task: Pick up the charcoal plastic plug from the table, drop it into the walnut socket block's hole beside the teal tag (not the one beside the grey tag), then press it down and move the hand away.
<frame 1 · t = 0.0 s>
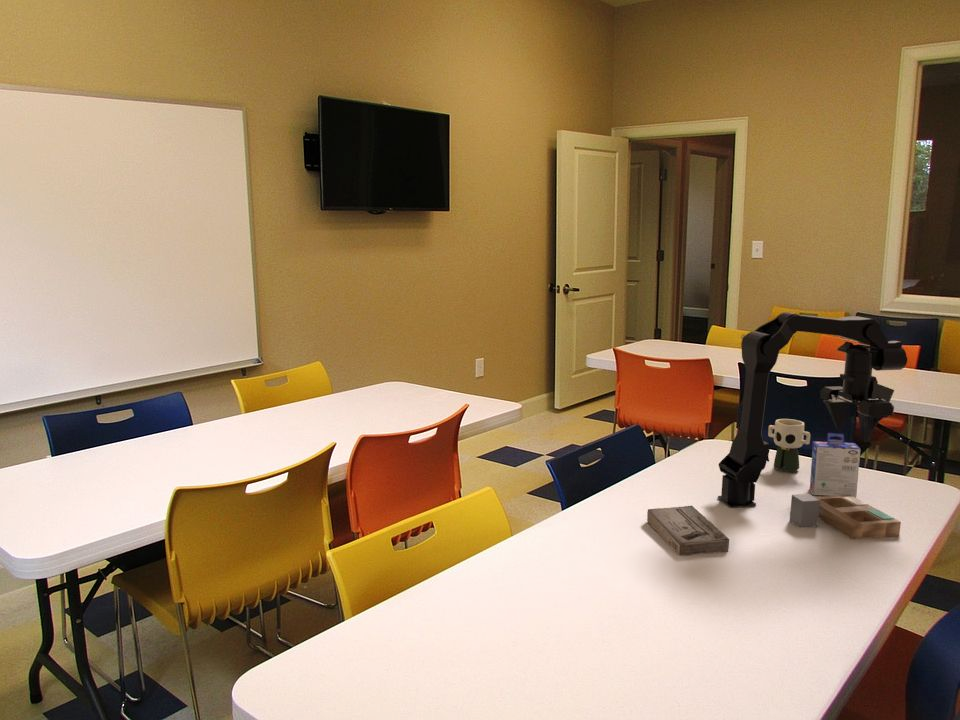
hand: (852, 436, 174), 15 cm above the table, tool pointing down, fingers open, 9 cm apart
character mug: (786, 470, 196), on the table
ink cartridge box: (832, 494, 178), on the table
plug: (803, 523, 160), on the table
box: (685, 539, 153), on the table
socket block: (848, 522, 161), on the table
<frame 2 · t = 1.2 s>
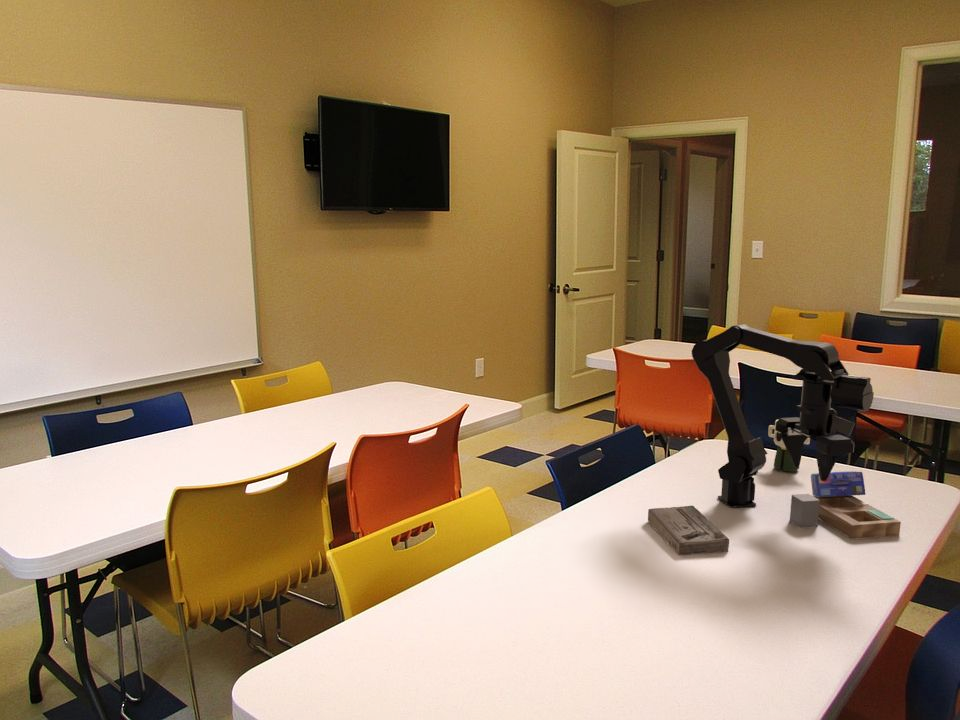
hand: (809, 473, 159), 11 cm above the table, tool pointing down, fingers open, 9 cm apart
ink cartridge box: (833, 482, 176), point 3 cm above the table, touching socket block
everything else where it was.
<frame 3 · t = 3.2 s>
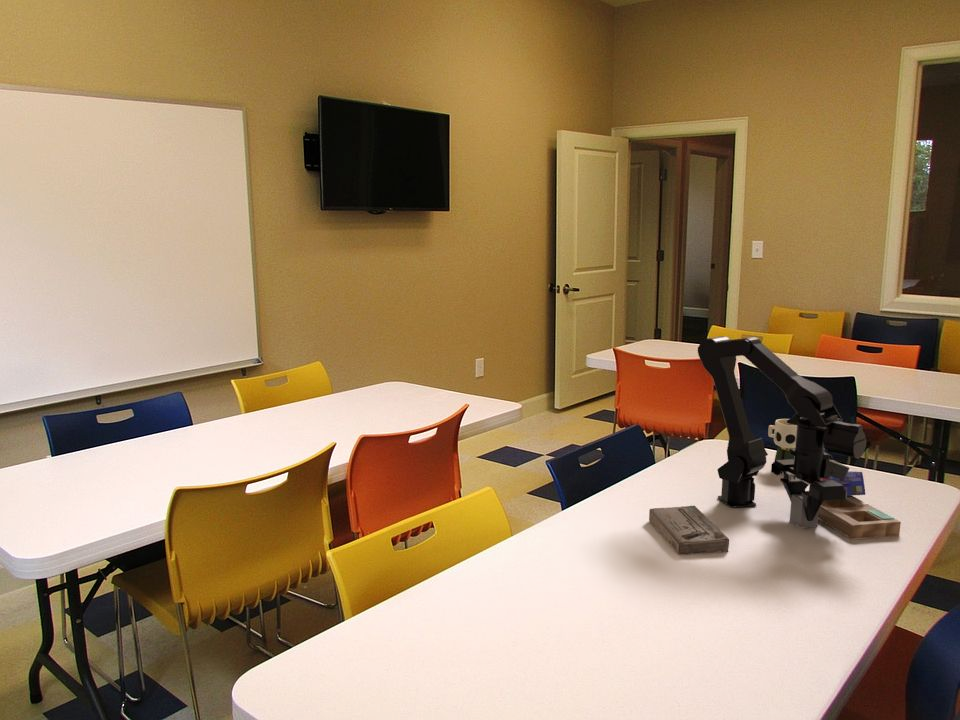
hand: (804, 516, 160), 2 cm above the table, tool pointing down, fingers closed on plug, 4 cm apart
plug: (803, 523, 160), on the table, touching gripper
everything else where it was.
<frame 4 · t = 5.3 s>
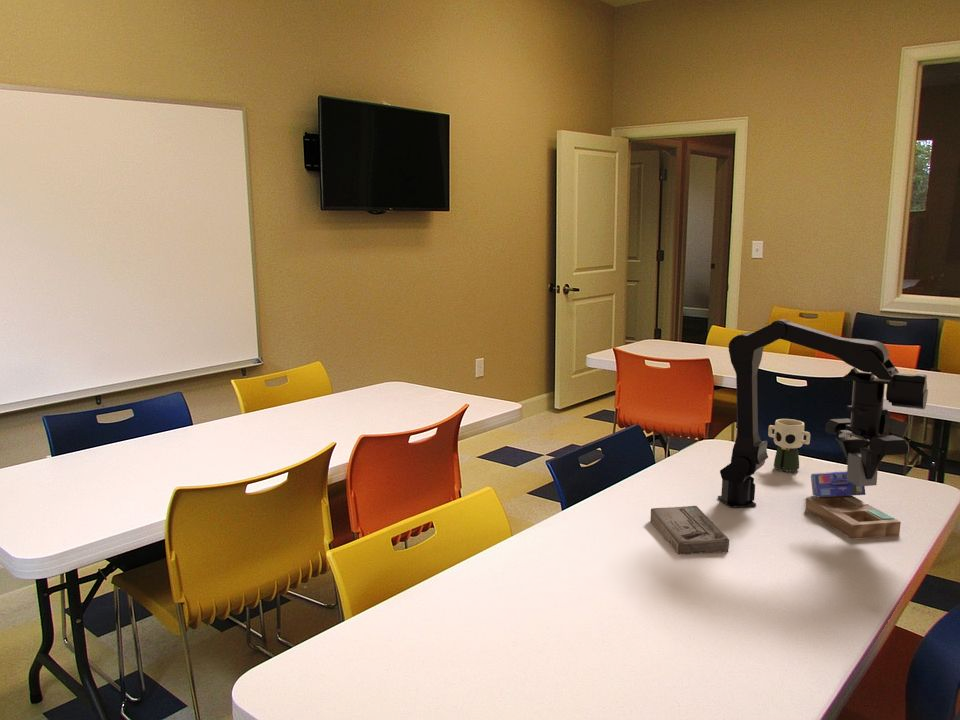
hand: (861, 475, 155), 12 cm above the table, tool pointing down, fingers closed on plug, 4 cm apart
plug: (861, 482, 155), point 10 cm above the table, touching gripper
everything else where it was.
when the fingers open (5 cm above the table, at t = 7.2 s): plug drops 4 cm, resting in socket block.
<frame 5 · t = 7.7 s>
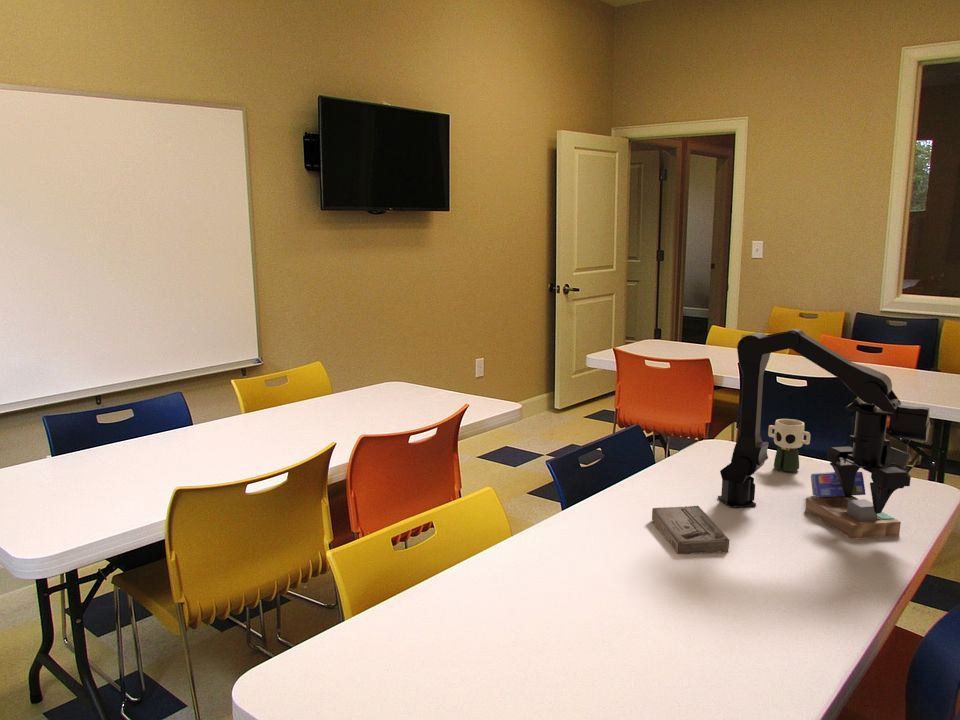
hand: (862, 505, 156), 5 cm above the table, tool pointing down, fingers open, 9 cm apart
plug: (860, 530, 157), resting in socket block
everything else where it was.
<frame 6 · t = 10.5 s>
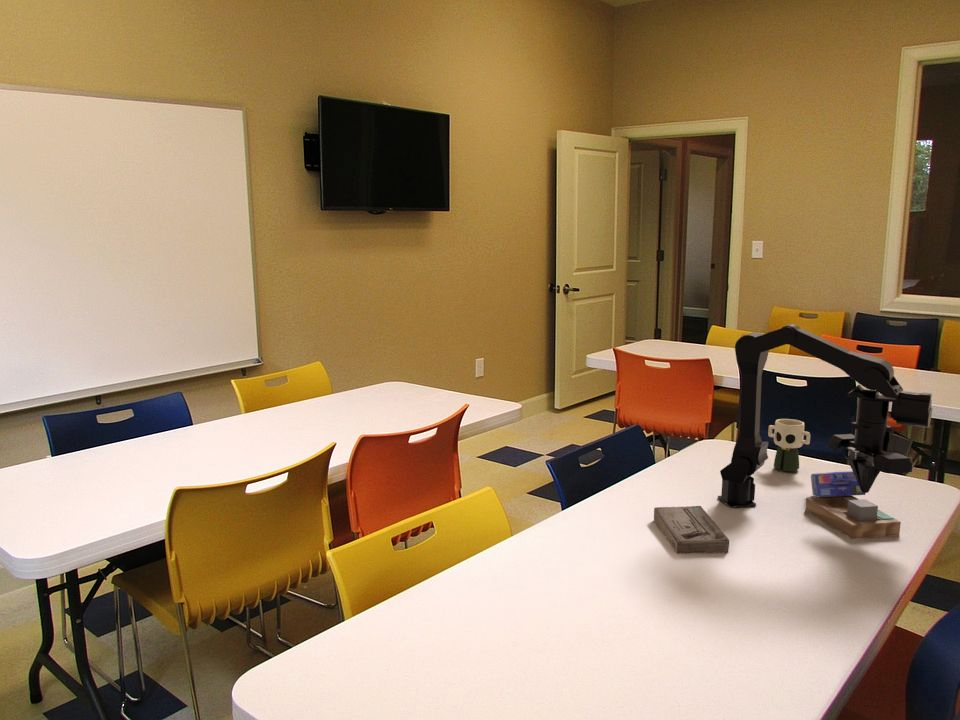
hand: (864, 492, 155), 8 cm above the table, tool pointing down, fingers closed
nothing on the table moved.
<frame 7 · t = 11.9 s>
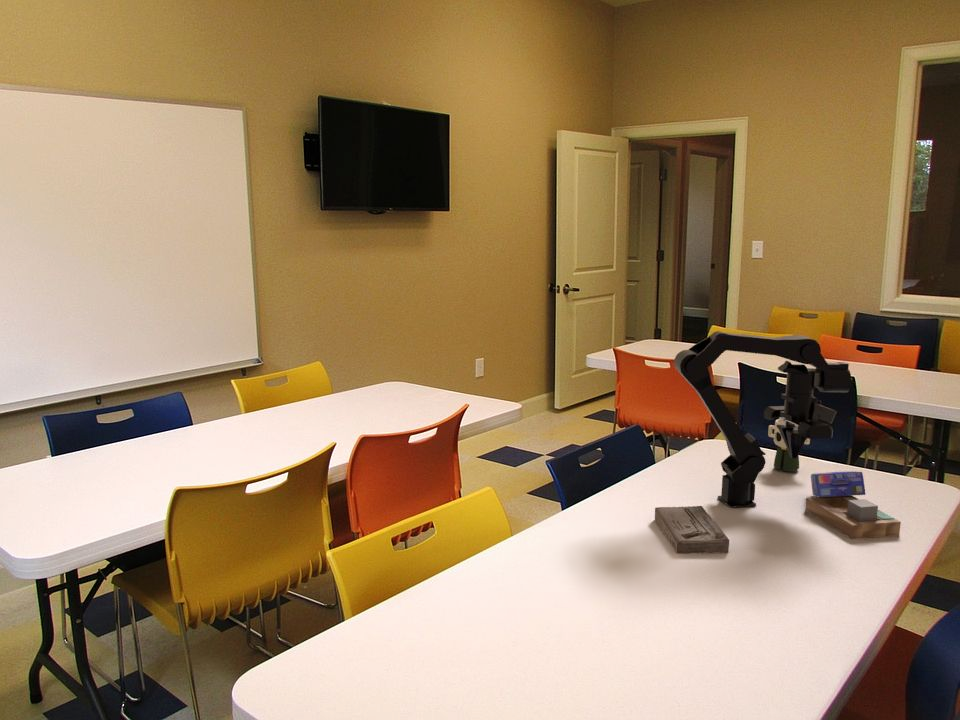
hand: (793, 457, 170), 11 cm above the table, tool pointing down, fingers closed
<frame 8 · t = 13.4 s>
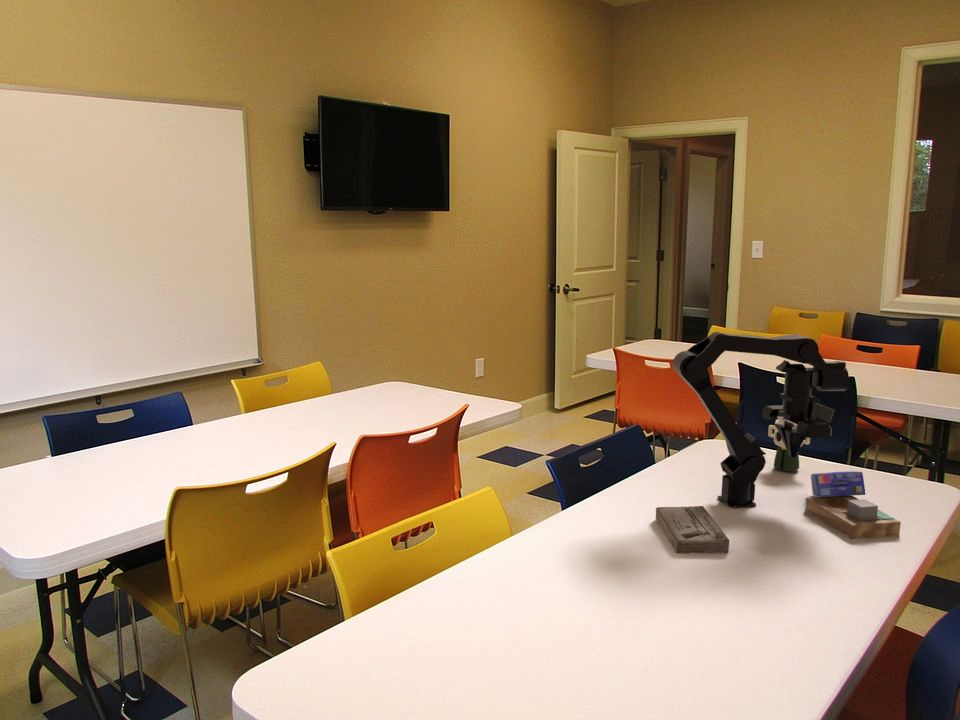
hand: (792, 457, 170), 11 cm above the table, tool pointing down, fingers closed
at the end: plug 0.0 cm from the target spot on the socket block, point 0.0 cm above the socket block's base; plug tilted 0°; the gripper is holding nothing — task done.
